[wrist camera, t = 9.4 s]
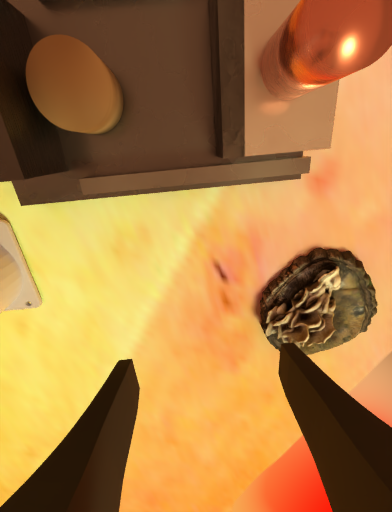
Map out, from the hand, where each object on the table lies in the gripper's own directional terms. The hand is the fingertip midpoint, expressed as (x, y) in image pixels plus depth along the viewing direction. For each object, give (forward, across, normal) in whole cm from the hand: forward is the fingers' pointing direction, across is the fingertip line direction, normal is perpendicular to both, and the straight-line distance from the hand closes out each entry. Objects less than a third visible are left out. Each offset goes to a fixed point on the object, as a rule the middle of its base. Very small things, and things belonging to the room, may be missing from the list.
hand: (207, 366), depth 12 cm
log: (+11, -11, +5) cm, 16 cm away
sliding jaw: (+9, -5, -13) cm, 17 cm away
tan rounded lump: (+9, +6, -13) cm, 17 cm away
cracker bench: (+10, +2, -13) cm, 17 cm away
